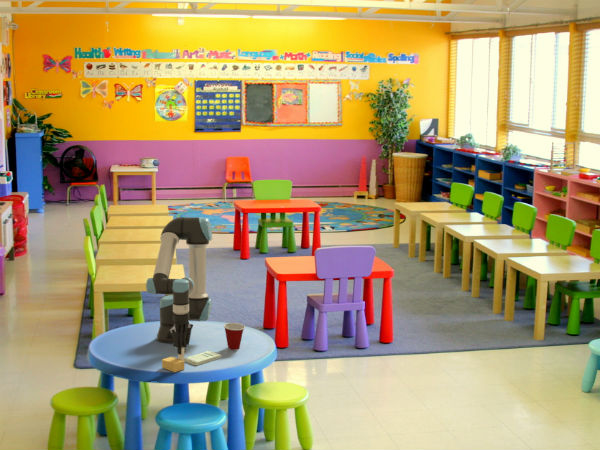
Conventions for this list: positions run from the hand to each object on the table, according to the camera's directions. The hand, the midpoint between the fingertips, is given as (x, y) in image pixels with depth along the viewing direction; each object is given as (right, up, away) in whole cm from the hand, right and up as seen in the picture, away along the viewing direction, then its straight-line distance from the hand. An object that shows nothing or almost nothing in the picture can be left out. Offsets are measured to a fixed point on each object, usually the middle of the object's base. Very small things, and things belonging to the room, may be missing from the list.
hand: (181, 360), depth 385 cm
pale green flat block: (+9, -1, +10) cm, 14 cm away
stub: (-3, -3, -3) cm, 6 cm away
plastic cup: (+23, +1, +28) cm, 36 cm away
